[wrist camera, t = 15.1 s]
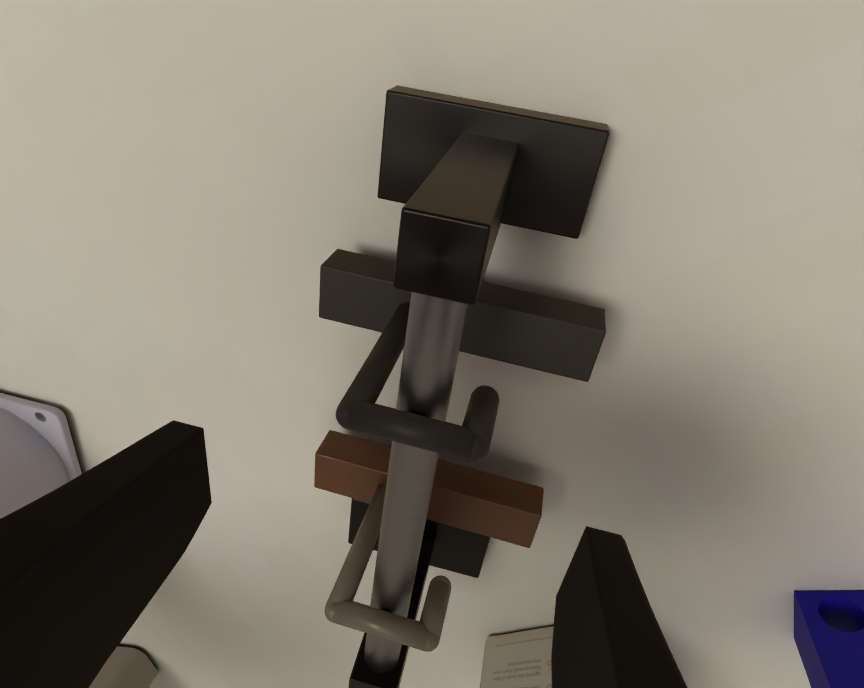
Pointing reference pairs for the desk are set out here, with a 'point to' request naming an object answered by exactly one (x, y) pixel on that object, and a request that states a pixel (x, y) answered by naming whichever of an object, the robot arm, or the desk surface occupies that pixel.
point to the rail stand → (454, 300)
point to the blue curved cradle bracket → (831, 637)
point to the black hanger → (482, 335)
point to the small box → (518, 660)
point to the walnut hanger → (449, 504)
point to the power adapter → (126, 670)
